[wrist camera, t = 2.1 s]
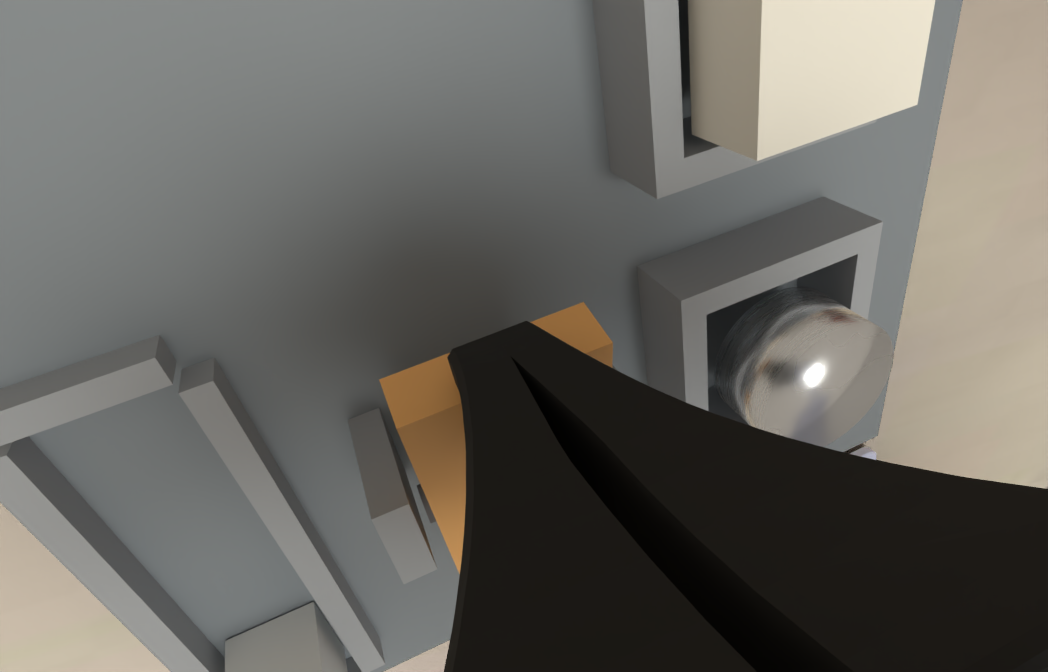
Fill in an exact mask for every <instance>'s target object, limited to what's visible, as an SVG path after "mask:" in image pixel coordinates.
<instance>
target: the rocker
mask: <svg viewBox="0 0 1048 672" xmlns="http://www.w3.org/2000/svg"><path fill="white" fill-rule="evenodd" d="M530 323H532V324H534V325H536V326H538V327H540V328H541V329H543V330H545V331H546V332H548V333H550V334H552V335H553V336H555V337H557V338H559V339H560V340H562V341H564V342H566V343H567V344H569V345H571V346H573V347H574V348H576V349H578V350H580V351H582V352H583V353H585V354H587V355H589V356H591V357H592V358H594V359H596V360H598V361H600V362H602V363H604V364H606V365H608V366H610V367H611V368H612V361H613V342H612V341H611V339H610V338H609V336H608V335H607V334H606V332H605V331H604V330H603V328H602V327H601V325H600V324H599V323H598V321H597V320H596V318H595V317H594V316H593V314H592V313H591V312H590V310H589V309H588V307H587V306H586V305H585V303H584V302H582V303H579V304H577V305H574V306H571V307H569V308H566V309H563V310H561V311H558V312H556V313H553V314H550V315H548V316H545V317H542V318H540V319H537V320H534V321H532V322H530ZM449 354H450V353H448V354H445V355H442V356H440V357H437V358H434V359H432V360H429V361H427V362H424V363H421V364H419V365H416V366H413V367H411V368H408V369H405V370H403V371H400V372H398V373H395V374H392V375H390V376H387V377H384V378H382V379H379V381H380V384H381V387H382V389H383V392H384V395H385V398H386V401H387V404H388V406H389V409H390V412H391V415H392V418H393V421H394V423H395V426H396V429H397V431H398V434H399V436H400V438H401V441H402V443H403V445H404V447H405V450H406V452H407V454H408V457H409V459H410V461H411V464H412V466H413V468H414V471H415V473H416V475H417V477H418V480H419V482H420V484H419V485H417V489H418V492H419V495H420V497H421V500H422V503H423V505H424V508H425V511H426V513H427V516H428V518H429V521H430V523H433V522H436V521H437V524H438V526H439V528H440V530H441V533H442V535H443V537H444V540H445V542H446V544H447V547H448V549H449V551H450V553H451V556H452V558H453V560H454V563H455V565H456V567H457V570H458V572H459V574H460V569H461V560H462V549H463V538H464V524H465V505H466V446H465V433H464V422H463V411H462V404H461V398H460V393H459V390H458V388H457V385H456V383H455V380H454V377H453V374H452V371H451V368H450V365H449V362H448V358H447V357H448V355H449Z"/></svg>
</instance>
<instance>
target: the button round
mask: <svg viewBox="0 0 1048 672" xmlns="http://www.w3.org/2000/svg"><path fill="white" fill-rule="evenodd" d="M892 364H893V345H892V341H891V339H890V337H889V335H888V334H887V332H886V331H885V330H883V329H882V328H881V327H879V326H877V325H875V324H874V323H872V322H870V321H869V320H867V319H865V318H864V317H862V316H860V315H858V314H857V313H855V312H853V311H852V310H850V309H848V308H847V307H845V306H843V305H842V304H840V303H838V302H836V301H835V300H833V299H831V298H830V297H828V296H826V295H825V294H823V293H821V292H819V291H818V290H816V289H813V288H810V287H804V286H796V287H789V288H785V289H782V290H779V291H777V292H774V293H772V294H770V295H768V296H767V297H765V298H763V299H762V300H760V301H759V302H757V303H756V304H755V305H753V306H752V307H751V308H750V309H749V310H748V311H746V312H745V313H744V314H743V315H742V317H741V318H740V319H739V320H738V321H737V322H736V323H735V325H734V326H733V327H732V328H731V330H730V331H729V333H728V334H727V336H726V338H725V340H724V341H723V343H722V345H721V348H720V350H719V352H718V355H717V358H716V362H715V367H714V384H715V387H716V390H717V393H718V395H719V396H720V397H721V399H722V400H723V401H724V402H725V403H726V404H727V405H729V406H730V407H731V408H732V409H733V410H734V411H735V412H736V413H737V414H738V415H739V416H740V417H741V418H743V419H744V420H745V421H746V422H747V423H748V424H749V425H750V426H752V427H755V428H758V429H761V430H764V431H768V432H771V433H774V434H778V435H781V436H784V437H788V438H791V439H795V440H799V441H802V442H806V443H810V444H814V445H817V446H821V447H824V446H826V445H828V444H830V443H832V442H833V441H835V440H836V439H838V438H839V437H841V436H842V435H843V434H845V433H846V432H847V431H849V430H850V429H851V428H852V427H853V426H854V425H855V424H856V423H858V422H859V421H860V420H861V419H862V417H863V416H864V415H865V414H866V413H867V412H868V411H869V409H870V408H871V407H872V406H873V404H874V403H875V401H876V400H877V398H878V397H879V395H880V394H881V392H882V390H883V388H884V386H885V384H886V382H887V380H888V377H889V375H890V372H891V368H892Z"/></svg>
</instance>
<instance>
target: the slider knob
mask: <svg viewBox="0 0 1048 672" xmlns="http://www.w3.org/2000/svg"><path fill="white" fill-rule="evenodd" d="M225 672H348V671H347V664H346V658H345V651H344V647H343V645H342V644H341V642H340V641H339V639H338V637H337V636H336V634H335V633H334V631H333V630H332V628H331V627H330V625H329V624H328V622H327V621H326V619H325V618H324V616H323V615H322V613H321V612H320V610H319V609H318V607H317V606H316V604H315V603H314V602H312V603H309V604H307V605H305V606H303V607H300V608H298V609H296V610H294V611H291V612H289V613H287V614H285V615H282V616H280V617H278V618H276V619H273V620H271V621H269V622H267V623H264V624H262V625H260V626H258V627H255V628H253V629H251V630H249V631H246V632H244V633H242V634H240V635H237V636H235V637H233V638H231V639H228V640H226V641H225Z"/></svg>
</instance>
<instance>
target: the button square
mask: <svg viewBox="0 0 1048 672" xmlns="http://www.w3.org/2000/svg"><path fill="white" fill-rule="evenodd" d="M934 6H935V0H688V25H689V59H690V92H691V126H692V135H694V136H697V137H699V138H702V139H704V140H707V141H709V142H712V143H714V144H716V145H719V146H721V147H724V148H726V149H729V150H731V151H734V152H736V153H739V154H741V155H743V156H746V157H748V158H751V159H753V160H756V161H759V160H762V159H765V158H767V157H770V156H773V155H776V154H779V153H782V152H784V151H787V150H790V149H793V148H796V147H799V146H802V145H804V144H807V143H810V142H813V141H816V140H819V139H821V138H824V137H827V136H830V135H833V134H836V133H839V132H841V131H844V130H847V129H850V128H853V127H856V126H858V125H861V124H864V123H867V122H870V121H873V120H876V119H878V118H881V117H884V116H887V115H890V114H893V113H895V112H898V111H901V110H904V109H907V108H910V107H913V106H915V105H917V104H918V98H919V92H920V87H921V81H922V75H923V69H924V63H925V58H926V52H927V46H928V40H929V34H930V29H931V23H932V17H933V11H934Z"/></svg>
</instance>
